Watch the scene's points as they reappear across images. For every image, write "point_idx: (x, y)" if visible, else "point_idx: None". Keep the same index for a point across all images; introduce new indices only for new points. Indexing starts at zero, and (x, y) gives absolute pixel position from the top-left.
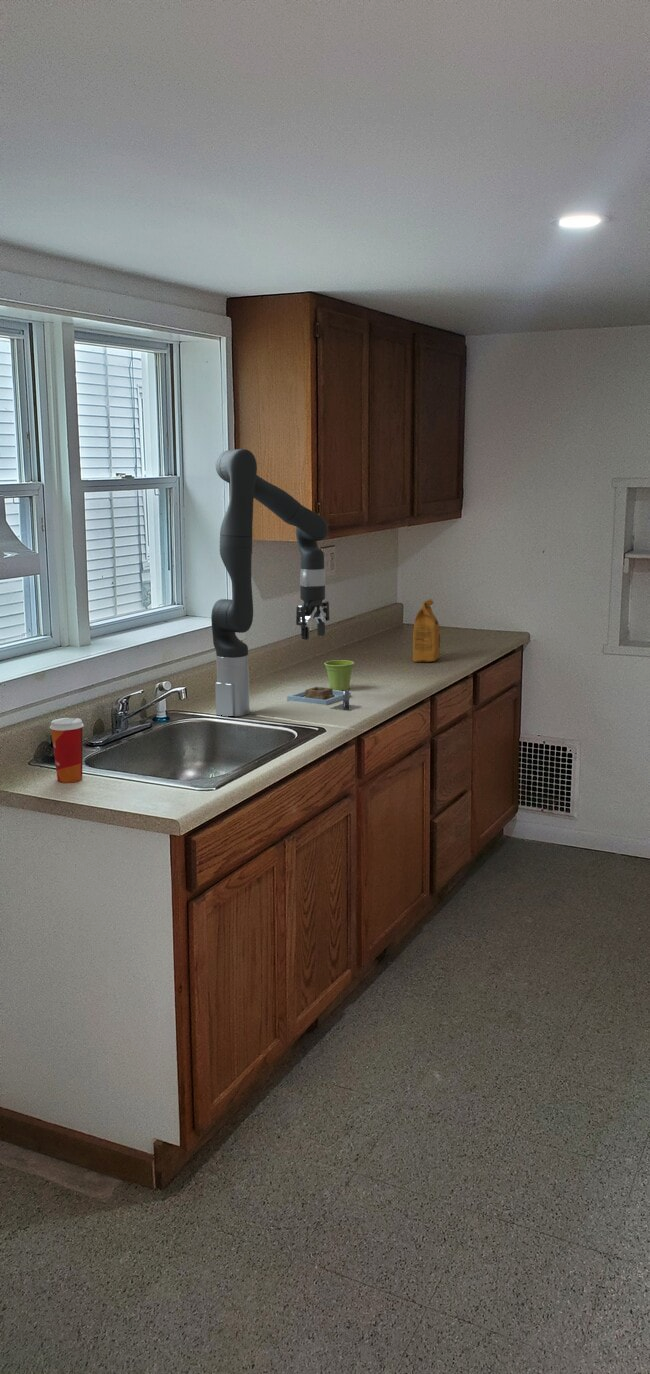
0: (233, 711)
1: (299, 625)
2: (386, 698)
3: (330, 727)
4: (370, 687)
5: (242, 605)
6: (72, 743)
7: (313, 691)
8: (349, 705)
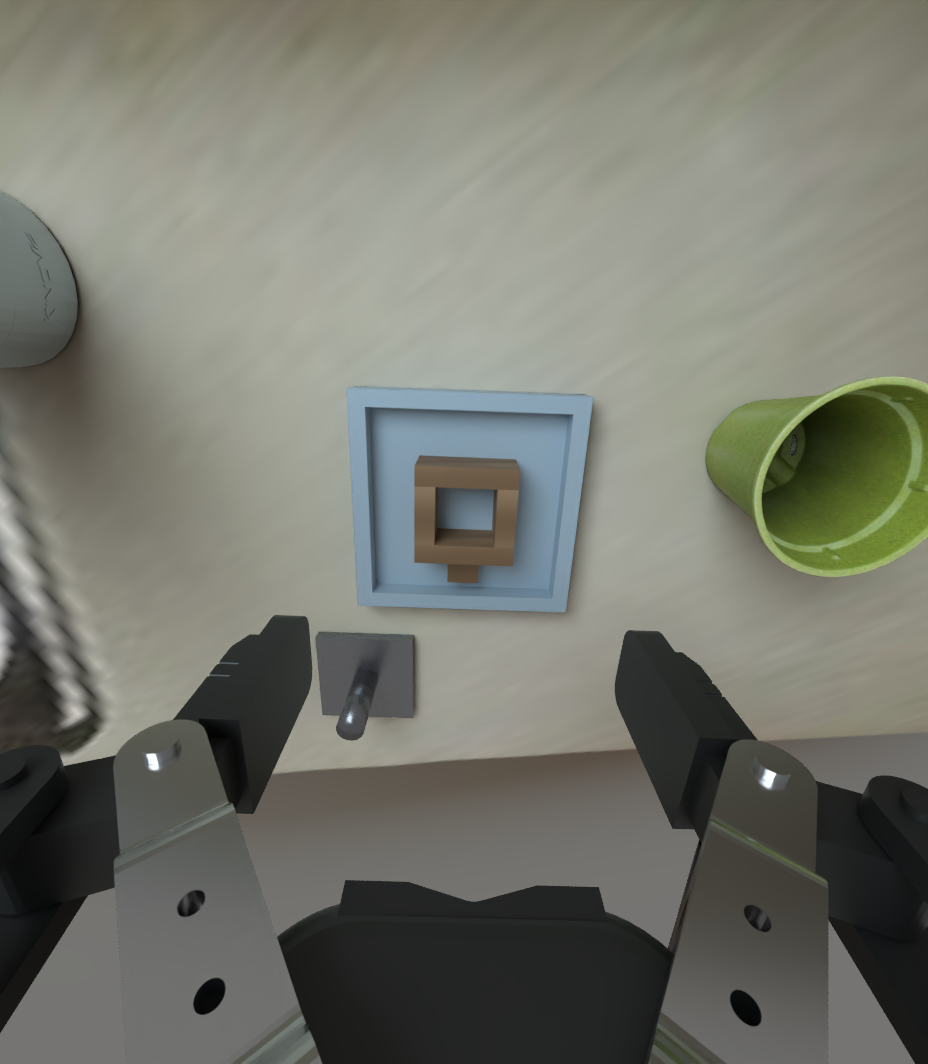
0: None
1: (65, 774)
2: None
3: (122, 741)
4: None
5: None
6: None
7: (414, 514)
8: (400, 675)
